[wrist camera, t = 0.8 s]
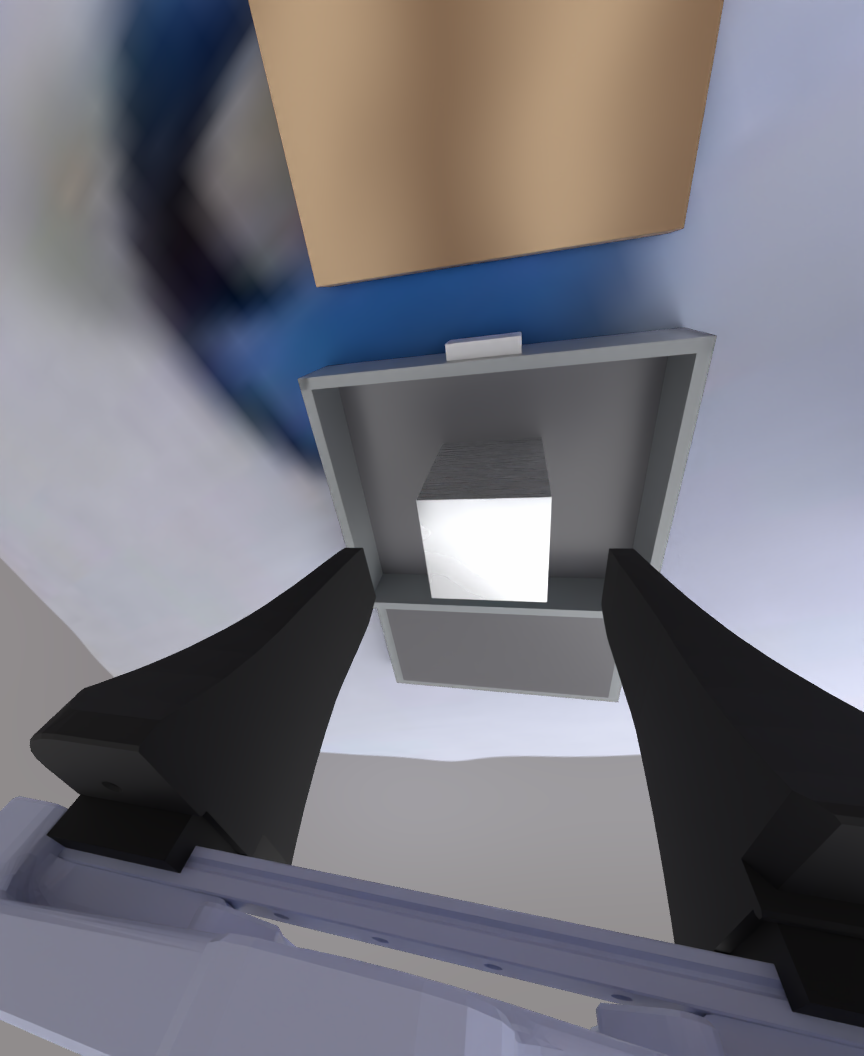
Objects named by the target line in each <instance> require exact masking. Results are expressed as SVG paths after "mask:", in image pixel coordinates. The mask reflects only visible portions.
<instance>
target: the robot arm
mask: <svg viewBox="0 0 864 1056" xmlns="http://www.w3.org/2000/svg"><path fill="white" fill-rule="evenodd" d="M375 599H376V595H375V591H374V587H373V583H372V579H371V576H370V572H369V568H368V564H367V560H366V557H365V553H364V549H363V548H344V549H342V550H341V551H339V552H338V553H337V554H335V555H334V556H332V557H331V558H330V559H328V560H327V561H326V562H324V563H323V564H322V565H320V566H319V567H318V568H316V569H315V570H314V571H312V572H311V573H310V574H308V575H307V576H306V577H304V578H303V579H302V580H300V581H299V582H298V583H296V584H295V585H294V586H292V587H291V588H289V589H288V590H286V591H285V592H284V593H282V594H281V595H279V596H278V597H276V598H275V599H273V600H272V601H271V602H269V603H268V604H266V605H265V606H263V607H262V608H260V609H258V610H257V611H255V612H254V613H252V614H250V615H249V616H247V617H245V618H243V619H242V620H240V621H238V622H237V623H235V624H233V625H231V626H230V627H228V628H226V629H224V630H222V631H220V632H218V633H216V634H214V635H212V636H210V637H208V638H206V639H204V640H202V641H200V642H198V643H196V644H194V645H192V646H190V647H188V648H186V649H184V650H182V651H179V652H177V653H175V654H173V655H170V656H168V657H166V658H163V659H161V660H159V661H156V662H154V663H152V664H149V665H147V666H144V667H142V668H139V669H137V670H134V671H131V672H128V673H126V674H123V675H120V676H117V677H115V678H112V679H109V680H106V681H104V682H101V683H99V684H95V685H93V686H90V687H87V688H84V689H83V690H81V691H80V692H79V693H78V694H77V695H76V696H75V697H74V698H73V699H72V700H71V701H70V702H68V703H67V704H66V705H65V706H64V707H63V708H62V709H61V710H60V711H59V712H58V713H57V714H56V715H55V716H54V717H52V718H51V719H50V720H49V721H48V722H47V723H46V724H45V725H44V726H43V727H42V728H41V729H40V730H39V731H38V732H37V733H35V734H34V735H33V737H32V738H31V739H30V748H31V752H32V753H33V754H34V756H35V757H36V758H37V759H38V760H39V761H40V762H41V763H42V764H43V765H44V766H45V767H46V768H48V769H49V770H50V771H51V772H53V773H54V774H55V775H56V776H58V777H59V778H60V779H61V780H63V781H64V782H65V783H66V784H67V785H69V786H70V787H71V788H72V789H74V790H75V791H76V792H77V793H79V794H80V796H79V797H78V798H77V799H76V801H75V802H74V803H73V804H72V806H70V808H69V809H67V808H65V807H63V806H61V805H59V804H55V803H52V802H47V801H41V800H36V799H31V798H26V797H21V796H19V797H15V798H13V799H12V800H11V801H10V802H9V803H8V804H7V805H6V806H5V807H4V808H3V809H2V810H1V811H0V1020H2V1021H4V1022H6V1023H9V1024H11V1025H13V1026H16V1027H18V1028H20V1029H23V1030H25V1031H27V1032H29V1033H32V1034H34V1035H36V1036H38V1037H41V1038H43V1039H46V1040H48V1041H50V1042H52V1043H54V1044H57V1045H59V1046H61V1047H64V1048H66V1049H68V1050H71V1051H73V1052H75V1053H77V1054H80V1055H82V1056H864V712H862V711H860V710H858V709H857V708H855V707H853V706H851V705H849V704H848V703H846V702H844V701H842V700H840V699H838V698H837V697H835V696H833V695H831V694H829V693H828V692H826V691H824V690H822V689H821V688H819V687H817V686H816V685H814V684H812V683H810V682H809V681H807V680H805V679H804V678H802V677H800V676H799V675H797V674H795V673H794V672H792V671H790V670H788V669H787V668H785V667H784V666H782V665H780V664H779V663H777V662H776V661H774V660H772V659H771V658H769V657H768V656H766V655H765V654H763V653H762V652H760V651H759V650H757V649H756V648H754V647H753V646H752V645H750V644H749V643H747V642H746V641H744V640H743V639H741V638H740V637H738V636H737V635H735V634H734V633H733V632H731V631H730V630H728V629H727V628H726V627H724V626H723V625H722V624H721V623H719V622H718V621H717V620H715V619H714V618H713V617H711V616H710V615H709V614H708V613H706V612H705V611H704V610H702V609H701V608H700V607H699V606H697V605H696V604H695V603H694V602H693V601H691V600H690V599H689V598H688V597H687V596H685V595H684V594H683V593H682V592H681V591H680V590H678V589H677V588H676V587H675V586H674V585H673V584H672V583H671V582H669V581H668V580H667V579H666V578H665V577H664V576H663V575H662V574H661V573H659V572H658V571H657V570H656V569H655V568H654V567H653V566H652V565H651V564H650V563H649V562H648V561H647V560H645V559H644V558H643V557H642V556H641V555H640V554H639V553H638V552H637V551H636V550H635V549H632V548H609V553H608V560H607V567H606V573H605V580H604V587H603V594H602V601H601V607H602V613H603V619H604V624H605V630H606V635H607V639H608V642H609V646H610V649H611V652H612V655H613V658H614V661H615V665H616V668H617V671H618V674H619V677H620V680H621V683H622V686H623V689H624V692H625V696H626V699H627V702H628V705H629V708H630V711H631V714H632V718H633V722H634V725H635V729H636V733H637V738H638V742H639V747H640V752H641V756H642V761H643V766H644V771H645V776H646V780H647V786H648V791H649V796H650V801H651V806H652V811H653V816H654V822H655V828H656V832H657V838H658V844H659V850H660V855H661V861H662V867H663V872H664V878H665V885H666V891H667V896H668V903H669V909H670V915H671V922H672V929H673V935H674V942H675V944H673V943H668V942H663V941H658V940H653V939H649V938H644V937H639V936H634V935H629V934H624V933H619V932H614V931H610V930H605V929H600V928H595V927H590V926H585V925H580V924H575V923H570V922H566V921H561V920H556V919H551V918H546V917H541V916H536V915H531V914H527V913H522V912H517V911H512V910H507V909H502V908H497V907H492V906H487V905H483V904H477V903H473V902H467V901H462V900H458V899H453V898H448V897H443V896H439V895H433V894H429V893H424V892H419V891H414V890H409V889H404V888H400V887H395V886H390V885H385V884H380V883H375V882H370V881H365V880H360V879H356V878H351V877H346V876H341V875H336V874H331V873H326V872H321V871H316V870H312V869H307V868H302V867H296V866H292V865H291V864H292V859H293V855H294V850H295V846H296V842H297V837H298V833H299V829H300V824H301V820H302V816H303V811H304V807H305V803H306V800H307V796H308V792H309V789H310V785H311V781H312V777H313V774H314V770H315V766H316V763H317V759H318V756H319V753H320V749H321V746H322V742H323V739H324V736H325V732H326V729H327V726H328V723H329V720H330V717H331V714H332V711H333V708H334V704H335V701H336V699H337V696H338V694H339V691H340V689H341V686H342V684H343V682H344V679H345V677H346V675H347V673H348V670H349V668H350V666H351V664H352V661H353V659H354V657H355V655H356V652H357V650H358V648H359V645H360V643H361V641H362V639H363V636H364V634H365V632H366V629H367V627H368V624H369V621H370V617H371V614H372V610H373V607H374V603H375ZM245 913H247V914H245ZM248 914H251V915H255V916H259V917H263V918H268V919H272V920H276V921H280V922H284V923H289V924H292V925H297V926H301V927H305V928H309V929H313V930H317V931H321V932H325V933H329V934H333V935H338V936H342V937H346V938H350V939H354V940H359V941H362V942H366V943H371V944H375V945H379V946H383V947H388V948H391V949H395V950H400V951H404V952H408V953H412V954H416V955H420V956H425V957H428V958H433V959H437V960H441V961H445V962H449V963H454V964H458V965H461V966H466V967H470V968H474V969H478V970H482V971H486V972H491V973H495V974H499V975H503V976H507V977H512V978H515V979H520V980H523V981H528V982H532V983H536V984H540V985H544V986H548V987H552V988H557V989H561V990H565V991H569V992H573V993H577V994H582V995H586V996H590V997H594V998H598V999H602V1000H606V1001H610V1002H614V1003H619V1004H609V1003H600V1004H599V1006H598V1007H597V1009H596V1014H597V1023H598V1025H597V1026H594V1027H592V1028H591V1029H590V1030H589V1029H586V1028H583V1027H580V1026H577V1025H573V1024H570V1023H568V1022H565V1021H561V1020H558V1019H555V1018H552V1017H549V1016H546V1015H543V1014H540V1013H537V1012H534V1011H531V1010H528V1009H525V1008H522V1007H518V1006H516V1005H513V1004H510V1003H506V1002H503V1001H500V1000H497V999H493V998H490V997H487V996H484V995H481V994H477V993H474V992H471V991H468V990H465V989H461V988H458V987H455V986H452V985H448V984H444V983H441V982H437V981H434V980H430V979H427V978H423V977H420V976H416V975H413V974H409V973H405V972H402V971H398V970H394V969H390V968H386V967H382V966H378V965H374V964H371V963H367V962H363V961H359V960H354V959H350V958H346V957H341V956H337V955H332V954H328V953H323V952H319V951H314V950H310V949H304V948H299V947H296V946H294V945H293V944H292V943H291V942H290V941H289V940H287V939H286V938H285V937H284V936H283V935H282V933H281V931H280V929H279V927H278V926H276V925H274V924H271V923H269V922H266V921H263V920H261V919H258V918H256V917H253V916H251V915H248ZM621 1004H623V1005H621Z"/></svg>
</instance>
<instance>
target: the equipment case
mask: <svg viewBox="0 0 864 1056" xmlns="http://www.w3.org/2000/svg"><path fill="white" fill-rule="evenodd" d="M716 337H717V336H716V335H712V334H708V333H704V332H700V331H697V330H693V329H689V328H685V327H681V328H672V329H662V330H653V331H644V332H635V333H626V334H616V335H607V336H598V337H589V338H580V339H570V340H561V341H552V342H543V343H534V344H525V345H522V334H521V332H514V333H505V334H497V335H488V336H480V337H471V338H462V339H454V340H450V341H449V342H447V343H446V344H445V349H446V353H442V354H433V355H423V356H414V357H405V358H396V359H387V360H378V361H368V362H359V363H350V364H341V365H332V366H326V367H324V368H321V369H319V370H317V371H314V372H312V373H310V374H307V375H305V376H303V377H301V378H298V382H299V386H300V389H301V393H302V396H303V399H304V403H305V406H306V410H307V413H308V417H309V420H310V424H311V427H312V430H313V434H314V437H315V441H316V444H317V448H318V451H319V455H320V458H321V461H322V465H323V468H324V472H325V475H326V479H327V482H328V486H329V489H330V492H331V496H332V499H333V503H334V506H335V510H336V513H337V517H338V520H339V524H340V527H341V530H342V534H343V537H344V541H345V544H346V548H363V549H364V553H365V557H366V560H367V564H368V568H369V572H370V576H371V579H372V583H373V587H374V591H375V595H376V599H375V603H374V607H373V608H377V610H378V614H379V618H380V621H381V625H382V629H383V633H384V637H385V640H386V644H387V648H388V652H389V655H390V659H391V663H392V667H393V670H394V674H395V678H396V682H397V683H405V684H416V685H427V686H439V687H450V688H461V689H473V690H484V691H495V692H507V693H518V694H529V695H541V696H552V697H564V698H575V699H586V700H598V701H609V702H618V700H619V695H620V691H621V686H622V683H621V680H620V677H619V674H618V671H617V668H616V665H615V661H614V658H613V655H612V652H611V649H610V646H609V642H608V639H607V635H606V630H605V624H604V619H603V613H602V607H601V601H602V594H603V587H604V580H605V573H606V567H607V560H608V553H609V548H632V549H635V550H636V551H637V552H638V553H639V554H640V555H641V556H642V557H643V558H644V559H645V560H647V561H648V562H649V563H650V564H651V565H652V566H653V567H654V568H655V569H656V570H657V571H658V572H659V573H660V571H661V567H662V562H663V558H664V554H665V550H666V546H667V542H668V537H669V533H670V529H671V525H672V521H673V517H674V512H675V508H676V504H677V500H678V496H679V492H680V487H681V483H682V479H683V475H684V471H685V467H686V462H687V458H688V454H689V450H690V446H691V442H692V437H693V433H694V429H695V425H696V421H697V417H698V412H699V408H700V404H701V400H702V396H703V392H704V387H705V383H706V379H707V375H708V371H709V367H710V362H711V358H712V354H713V350H714V346H715V342H716ZM539 438H542V441H543V447H544V453H545V459H546V465H547V472H548V478H549V484H550V490H551V496H552V503H551V525H550V546H549V568H548V589H547V602H529V601H501V600H473V599H445V598H432V596H431V590H430V583H429V577H428V571H427V565H426V559H425V552H424V546H423V540H422V534H421V528H420V522H419V515H418V509H417V503H416V499H417V497H418V495H419V493H420V491H421V489H422V486H423V484H424V482H425V480H426V478H427V476H428V474H429V471H430V469H431V467H432V465H433V463H434V461H435V458H436V456H437V454H438V452H439V450H440V448H441V446H442V444H449V443H467V442H485V441H503V440H521V439H539Z"/></svg>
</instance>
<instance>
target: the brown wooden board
mask: <svg viewBox="0 0 864 1056" xmlns="http://www.w3.org/2000/svg"><path fill="white" fill-rule="evenodd" d="M248 1H249V5H250V9H251V13H252V18H253V22H254V26H255V30H256V35H257V39H258V43H259V47H260V51H261V56H262V60H263V64H264V68H265V72H266V77H267V81H268V85H269V89H270V94H271V98H272V102H273V106H274V110H275V115H276V119H277V123H278V127H279V131H280V136H281V140H282V144H283V148H284V152H285V157H286V161H287V165H288V169H289V174H290V178H291V182H292V186H293V190H294V195H295V199H296V203H297V207H298V211H299V216H300V220H301V224H302V228H303V233H304V237H305V241H306V245H307V249H308V254H309V258H310V262H311V266H312V270H313V275H314V279H315V283H316V287H333V286H339V285H345V284H352V283H358V282H364V281H371V280H377V279H383V278H390V277H396V276H402V275H408V274H415V273H421V272H427V271H434V270H440V269H446V268H453V267H459V266H465V265H471V264H478V263H484V262H490V261H497V260H503V259H509V258H516V257H522V256H528V255H535V254H541V253H547V252H553V251H560V250H566V249H572V248H579V247H585V246H591V245H598V244H604V243H610V242H616V241H623V240H629V239H635V238H642V237H648V236H654V235H661V234H667V233H671V232H674V231H677V230H680V229H683V228H684V224H685V218H686V213H687V207H688V201H689V195H690V190H691V184H692V178H693V173H694V167H695V161H696V156H697V150H698V144H699V139H700V133H701V127H702V122H703V116H704V110H705V105H706V99H707V93H708V88H709V82H710V76H711V71H712V65H713V59H714V53H715V48H716V42H717V36H718V31H719V25H720V19H721V14H722V8H723V2H724V0H248Z"/></svg>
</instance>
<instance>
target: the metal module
mask: <svg viewBox="0 0 864 1056" xmlns="http://www.w3.org/2000/svg"><path fill="white" fill-rule="evenodd" d="M416 503H417V509H418V515H419V522H420V528H421V534H422V540H423V546H424V552H425V559H426V565H427V571H428V577H429V583H430V590H431V596H432V598H445V599H473V600H501V601H529V602H547V589H548V568H549V546H550V525H551V503H552V496H551V490H550V484H549V478H548V472H547V465H546V459H545V453H544V447H543V441H542V438H539V439H521V440H503V441H485V442H467V443H449V444H442V446H441V448H440V450H439V452H438V454H437V456H436V458H435V461H434V463H433V465H432V467H431V469H430V471H429V474H428V476H427V478H426V480H425V482H424V484H423V486H422V489H421V491H420V493H419V495H418V497H417V499H416Z"/></svg>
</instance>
